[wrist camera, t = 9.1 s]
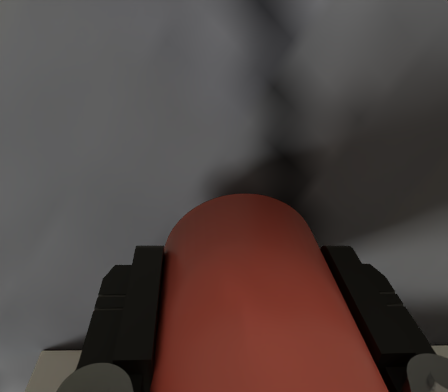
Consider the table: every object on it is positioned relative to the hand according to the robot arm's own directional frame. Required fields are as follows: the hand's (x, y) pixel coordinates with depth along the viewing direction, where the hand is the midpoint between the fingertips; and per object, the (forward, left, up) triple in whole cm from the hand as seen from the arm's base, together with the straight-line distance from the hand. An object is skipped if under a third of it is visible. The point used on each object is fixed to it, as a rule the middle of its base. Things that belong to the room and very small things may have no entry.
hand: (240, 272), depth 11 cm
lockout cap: (0, 0, -1) cm, 1 cm away
